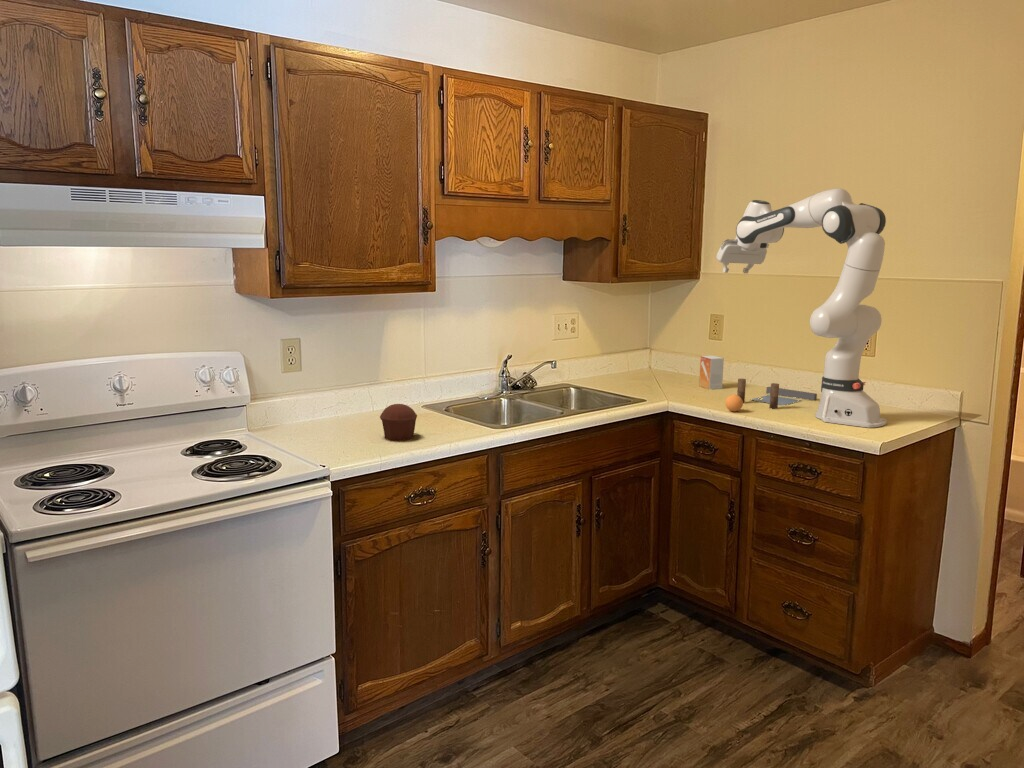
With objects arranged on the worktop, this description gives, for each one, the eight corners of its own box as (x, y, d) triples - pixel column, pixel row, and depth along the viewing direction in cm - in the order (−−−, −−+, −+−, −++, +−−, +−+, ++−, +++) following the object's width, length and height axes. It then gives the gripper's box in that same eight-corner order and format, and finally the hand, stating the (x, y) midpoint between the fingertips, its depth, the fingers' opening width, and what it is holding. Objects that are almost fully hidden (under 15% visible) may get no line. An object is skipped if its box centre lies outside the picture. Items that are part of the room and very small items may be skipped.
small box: (698, 386, 327) (700, 355, 324) (712, 385, 329) (713, 355, 326) (709, 389, 319) (710, 358, 317) (722, 389, 321) (724, 357, 319)
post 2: (778, 408, 283) (780, 384, 282) (775, 409, 281) (776, 384, 280) (771, 407, 285) (773, 383, 284) (767, 408, 283) (769, 383, 282)
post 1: (745, 402, 293) (747, 379, 291) (741, 403, 291) (743, 380, 289) (739, 401, 295) (740, 378, 293) (735, 402, 293) (736, 379, 291)
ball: (745, 411, 277) (746, 395, 276) (736, 413, 273) (737, 397, 272) (730, 408, 281) (731, 392, 280) (721, 411, 277) (722, 394, 276)
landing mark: (801, 400, 297) (801, 400, 297) (783, 405, 288) (783, 405, 288) (768, 395, 307) (768, 395, 307) (749, 400, 298) (749, 399, 298)
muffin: (423, 439, 235) (423, 406, 233) (388, 443, 229) (388, 410, 227) (408, 431, 245) (407, 399, 243) (374, 435, 239) (374, 403, 237)
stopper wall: (816, 400, 299) (817, 393, 299) (814, 400, 298) (814, 394, 297) (768, 392, 313) (769, 386, 313) (766, 393, 312) (766, 387, 312)
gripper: (728, 242, 295) (716, 275, 302) (772, 244, 302) (760, 276, 309) (719, 235, 300) (708, 268, 307) (764, 238, 307) (752, 269, 314)
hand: (735, 272), depth 308 cm, fingers open, 8 cm apart
